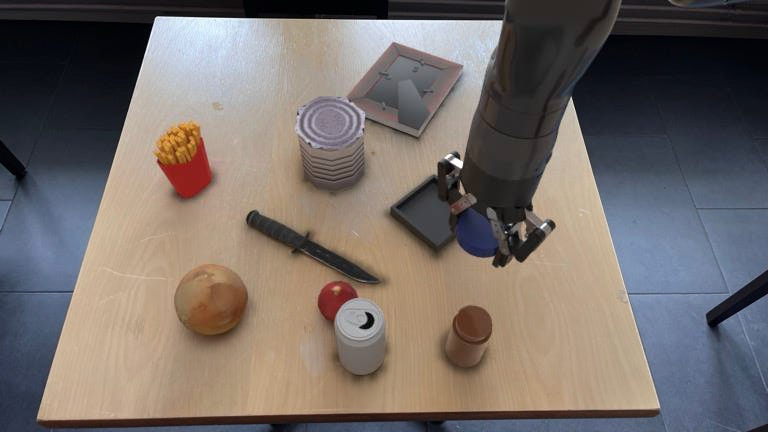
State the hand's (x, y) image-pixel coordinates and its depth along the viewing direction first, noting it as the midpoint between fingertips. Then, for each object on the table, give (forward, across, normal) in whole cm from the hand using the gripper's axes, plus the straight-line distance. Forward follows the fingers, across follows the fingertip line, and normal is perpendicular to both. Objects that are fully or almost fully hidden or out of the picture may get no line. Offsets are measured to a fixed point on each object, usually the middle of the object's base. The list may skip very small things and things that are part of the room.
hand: (478, 244), depth 61 cm
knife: (+20, -23, -8) cm, 32 cm away
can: (+20, -34, +6) cm, 40 cm away
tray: (+20, -15, +11) cm, 27 cm away
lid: (-3, 0, 0) cm, 3 cm away
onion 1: (+20, -24, -25) cm, 40 cm away
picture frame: (+20, -40, +30) cm, 54 cm away
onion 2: (+20, -12, -12) cm, 26 cm away
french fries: (+20, -48, -14) cm, 54 cm away
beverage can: (+20, -5, -14) cm, 25 cm away
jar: (+20, +4, -3) cm, 20 cm away
